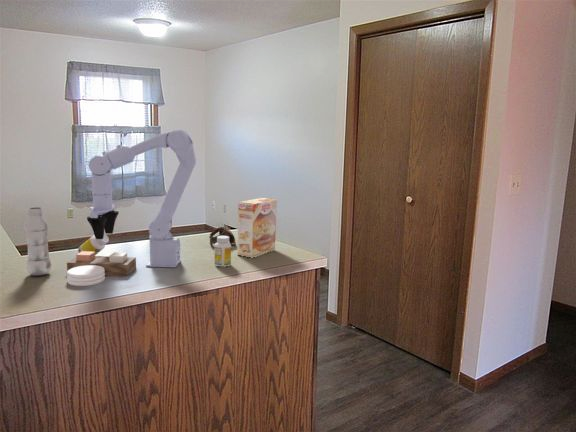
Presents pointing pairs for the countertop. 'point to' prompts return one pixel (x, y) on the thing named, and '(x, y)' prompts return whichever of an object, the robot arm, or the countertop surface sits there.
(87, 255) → the key terracotta
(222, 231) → the dark brown tangled clump
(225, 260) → the supplement bottle
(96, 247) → the supplement bottle
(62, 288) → the countertop surface
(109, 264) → the switch box
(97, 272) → the coaster
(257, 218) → the coffeecake box
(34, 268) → the plastic bottle
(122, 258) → the key offwhite
